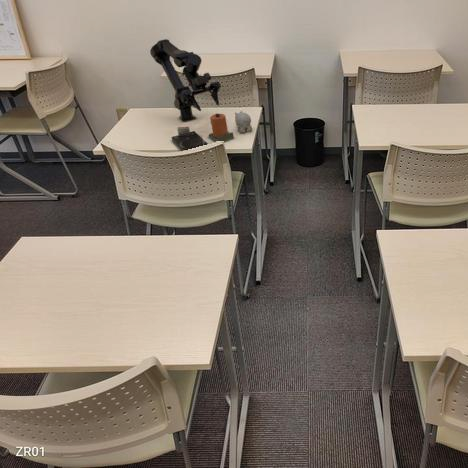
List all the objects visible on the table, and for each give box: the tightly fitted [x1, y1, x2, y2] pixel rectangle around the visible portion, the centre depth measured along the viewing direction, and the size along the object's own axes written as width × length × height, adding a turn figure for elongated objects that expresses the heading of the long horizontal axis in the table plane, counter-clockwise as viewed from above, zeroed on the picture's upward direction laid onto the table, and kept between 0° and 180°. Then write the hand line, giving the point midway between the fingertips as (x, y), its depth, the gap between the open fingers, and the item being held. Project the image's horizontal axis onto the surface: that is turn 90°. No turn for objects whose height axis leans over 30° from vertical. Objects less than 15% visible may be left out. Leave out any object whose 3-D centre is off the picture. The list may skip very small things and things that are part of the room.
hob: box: [171, 130, 209, 152], centre depth 215 cm, size 20×11×2 cm, turn 32°
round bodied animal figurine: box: [234, 111, 253, 134], centre depth 225 cm, size 7×12×8 cm, turn 25°
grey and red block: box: [176, 126, 191, 136], centre depth 218 cm, size 5×2×4 cm, turn 86°
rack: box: [207, 131, 235, 143], centre depth 219 cm, size 9×8×3 cm
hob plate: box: [180, 137, 206, 149], centre depth 212 cm, size 11×11×1 cm
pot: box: [209, 113, 229, 137], centre depth 216 cm, size 7×7×9 cm
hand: (209, 107), depth 216 cm, fingers open, 9 cm apart
